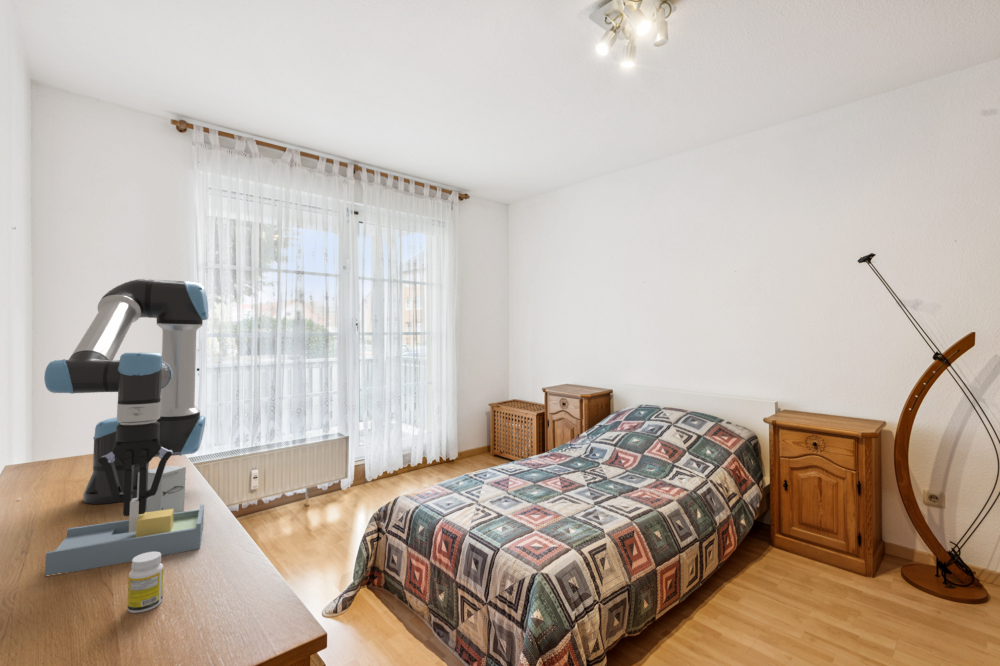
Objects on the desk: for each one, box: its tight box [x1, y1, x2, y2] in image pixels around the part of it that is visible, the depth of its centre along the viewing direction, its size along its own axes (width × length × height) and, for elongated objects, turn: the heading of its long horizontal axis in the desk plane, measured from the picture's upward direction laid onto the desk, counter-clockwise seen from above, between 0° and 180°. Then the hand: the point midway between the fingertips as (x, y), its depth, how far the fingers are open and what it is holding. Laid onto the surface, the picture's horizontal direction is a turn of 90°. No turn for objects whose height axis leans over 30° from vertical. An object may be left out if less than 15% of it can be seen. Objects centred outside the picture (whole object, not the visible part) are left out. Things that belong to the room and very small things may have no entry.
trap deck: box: [44, 504, 205, 577], centre depth 98 cm, size 14×25×6 cm, turn 121°
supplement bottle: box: [127, 552, 164, 614], centre depth 77 cm, size 5×5×8 cm
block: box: [136, 509, 174, 537], centre depth 100 cm, size 5×6×4 cm
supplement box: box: [137, 465, 187, 513], centre depth 116 cm, size 7×7×13 cm
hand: (134, 529), depth 98 cm, fingers closed
